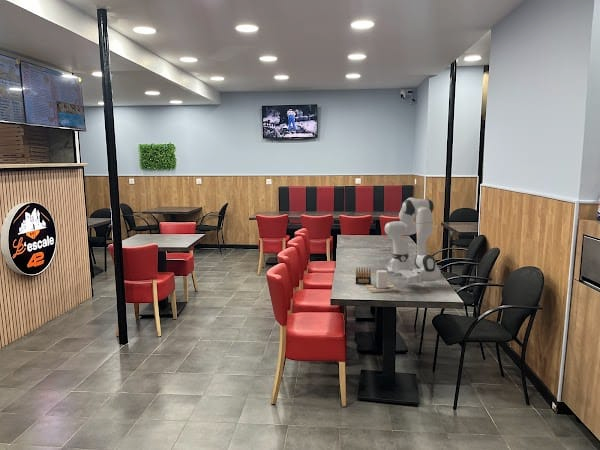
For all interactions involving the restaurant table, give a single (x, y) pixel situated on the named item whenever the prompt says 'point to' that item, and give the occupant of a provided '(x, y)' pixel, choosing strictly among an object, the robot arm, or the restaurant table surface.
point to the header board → (389, 288)
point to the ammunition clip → (363, 276)
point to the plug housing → (381, 279)
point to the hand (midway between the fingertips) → (396, 276)
